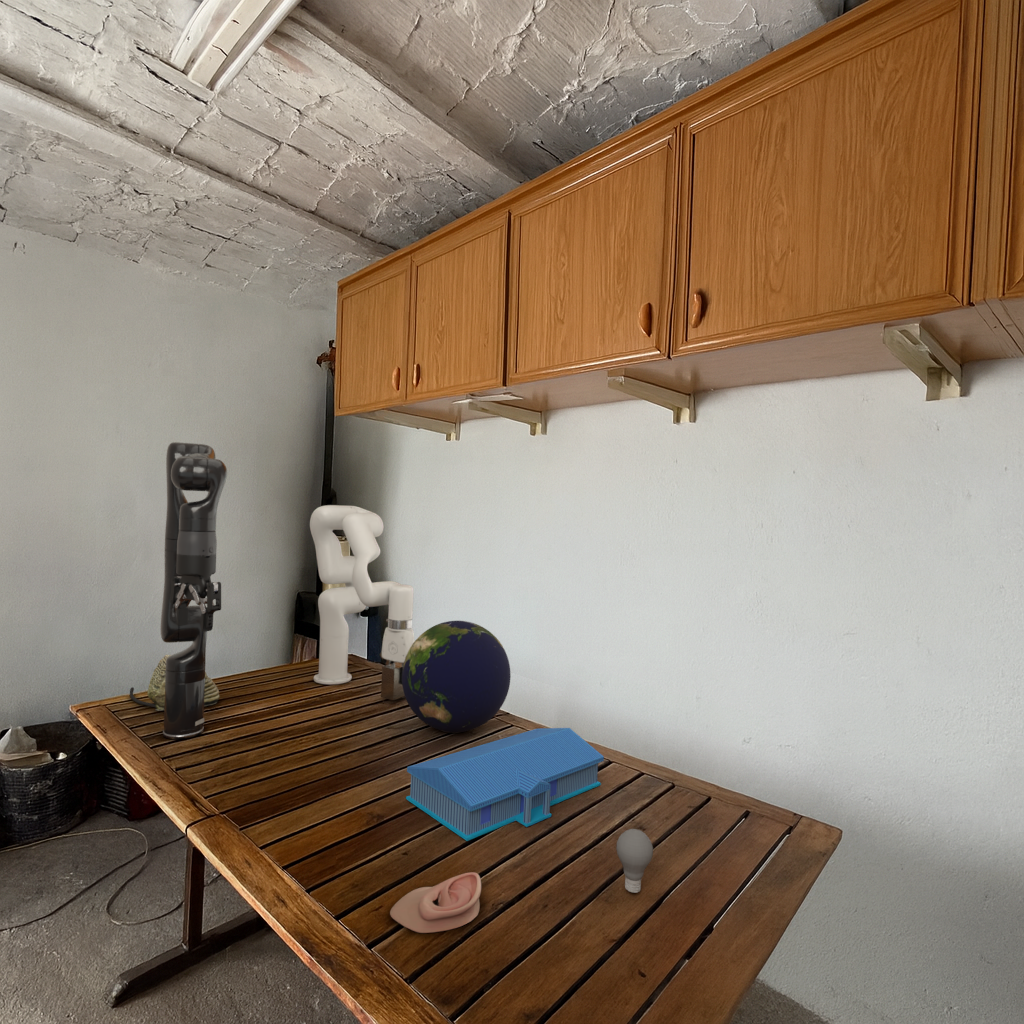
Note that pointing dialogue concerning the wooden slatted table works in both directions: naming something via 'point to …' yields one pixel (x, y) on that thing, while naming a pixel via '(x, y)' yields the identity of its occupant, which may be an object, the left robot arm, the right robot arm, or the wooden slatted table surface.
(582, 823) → the wooden slatted table surface
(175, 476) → the left robot arm
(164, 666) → the fossil
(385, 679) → the block
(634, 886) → the light bulb
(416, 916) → the anatomical model
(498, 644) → the globe
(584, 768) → the model building
